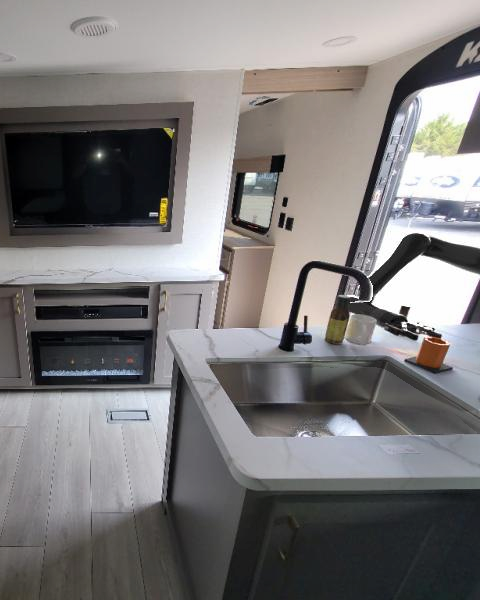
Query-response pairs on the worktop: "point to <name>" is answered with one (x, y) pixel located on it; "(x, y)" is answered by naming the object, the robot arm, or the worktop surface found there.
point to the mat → (430, 369)
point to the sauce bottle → (338, 321)
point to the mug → (360, 329)
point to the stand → (404, 310)
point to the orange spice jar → (432, 352)
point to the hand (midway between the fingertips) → (428, 337)
